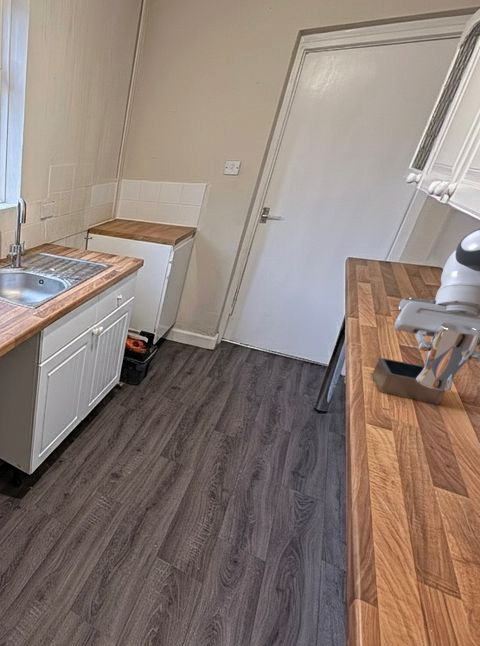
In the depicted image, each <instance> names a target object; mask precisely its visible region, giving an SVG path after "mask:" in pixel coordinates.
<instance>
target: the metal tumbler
mask: <svg viewBox="0 0 480 646" xmlns="http://www.w3.org/2000/svg"><path fill="white" fill-rule="evenodd" d="M447 326H460V327H463V328H465V329H467V330H468V331H470V332H471V333H472V334H470V333H463V332H458V331H454V330H450V329H447V328H445V327H447ZM479 339H480V330H478V329H475V328H472V327H468V326H464V325H459V324H453V323H442V324H440V326H439V328H438V329H437V331H436V332H435V334H434V336H433V337H432V338H431V340H430V348H429V350H428V351H426V357H425V362H424V365H423V366H424V367H423V369H422V371H421V372H420V373H419V375H418V376H417V377H416V378H415V380H416V382H418V383H419V384H421V385H423V386H426V387H429V388H432V389H436V390H443V391H445V392H447V391H450V390H451V389H452V385H453V381H454V378H455V376H456V374H457V373H458V372H459V371H460V370H461V369H462V368H463V366H465V364H466V363H467V362H468V361H469V360H468V359H469V358H470V357H471V355H472V354H473V352H474V351H475V350H476V349H477V347H478V345H477V344H478V342H479Z"/></svg>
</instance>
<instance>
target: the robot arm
mask: <svg viewBox="0 0 480 646" xmlns="http://www.w3.org/2000/svg"><path fill="white" fill-rule="evenodd" d="M440 283H441V285H440V287H439V288H438V290H437V291H436V295H435V298H434V300H433V299H424V298H418V297H412V296H411V297H409V298H408V297H407V298H404V299H401V300H400V301H399V303H398V310H399V311H400V312H399V314H398V316H397V317H396V319H395V321H394V326H393V327H394V328H395V329H396V330H397V331H399V332H400V331H401V332H405V333H410V334H415V335H414V338H415V340H416V341H417V343H418V344H419V345H418V350H419V351H424V352H427V351H428V350H429V348H430V342H431V341H430V342H429V341H427V340H426V338H425V337H426V336H427V337H432V338H433V336H434V334H435V332H436V331H437V329H438V328H439V326H440V324H442V323H453V324H459V325H464V326H468V327H472V328H475V329H478V330H480V228H478V229H475V230H473V231H471V232H469V233H468V234H466V235H465V236H464V237H463V238H462V239H461V240H460V241H459V243H458V244H457V247H456V249H455V250H454V251H453V252H452V253H451V254H450V256H449V257H448V258H447V260H446V262H445V264H444V267H443V269H442V273H441V277H440ZM445 328H447V329H450V330H454V331H458V332H463V333H470V334H472V333H471V332H470V331H468V330H467V329H465V328H463V327H460V326H447V327H445ZM477 347H478V350H479V351H475V350H474V352H473V354H472V355H471V357H470V358H469V359H468V360H467V361H472V362H477V363H478V362H480V339H479V342H478V344H477Z"/></svg>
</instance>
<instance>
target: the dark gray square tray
mask: <svg viewBox="0 0 480 646" xmlns="http://www.w3.org/2000/svg"><path fill="white" fill-rule="evenodd" d="M423 367H424V365H421V364H415V363H411V362H406V361H399V360H395V359H390V358H383V357H379V358H378V361H377V363H376V365H375V368H374V369H373V372H372V377H373V379H374V381H375V383H376V387H377V388H378V390H379V392H380V393H385V394H388V395H392V396H393V395H394V396H398V397H402V398H407V399H411V400H415V401H420V402H424V403H429V404H433V405H439V404H440V402H441V400H442V398H443V396H444V395H445V393H446V391H443V390H436V389H432V388H429V387H426V386H423V385H421V384H419V383H418V382H416V380H415V378H416V377H417V376H418V375H419V373H420V372H421V371H422V369H423Z"/></svg>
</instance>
